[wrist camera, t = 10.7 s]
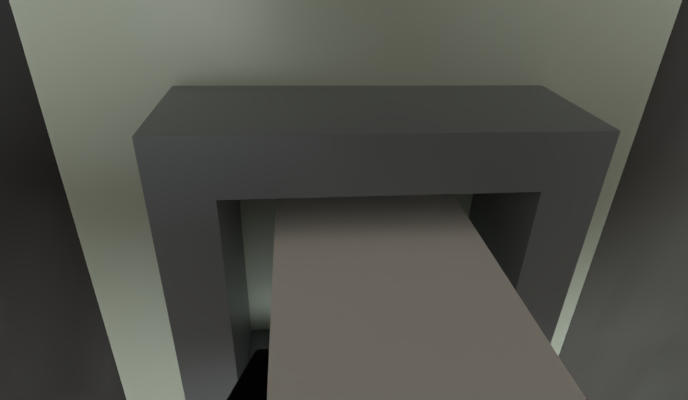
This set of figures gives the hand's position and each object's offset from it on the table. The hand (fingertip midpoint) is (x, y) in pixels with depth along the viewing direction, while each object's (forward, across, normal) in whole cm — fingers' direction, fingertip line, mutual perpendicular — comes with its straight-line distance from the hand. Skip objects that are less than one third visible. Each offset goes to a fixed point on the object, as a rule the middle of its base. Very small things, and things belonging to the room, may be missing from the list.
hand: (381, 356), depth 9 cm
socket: (+5, 0, 0) cm, 5 cm away
